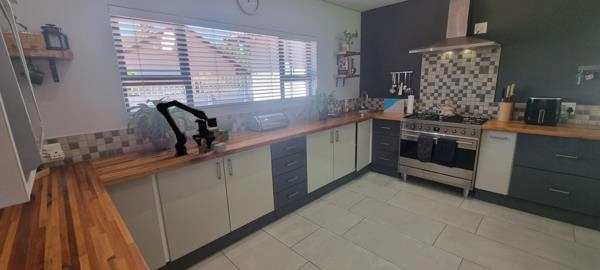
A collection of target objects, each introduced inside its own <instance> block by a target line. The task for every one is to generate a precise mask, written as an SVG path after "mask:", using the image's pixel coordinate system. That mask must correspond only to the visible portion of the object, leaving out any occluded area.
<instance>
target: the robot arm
mask: <svg viewBox="0 0 600 270" xmlns="http://www.w3.org/2000/svg"><path fill="white" fill-rule="evenodd" d="M172 107H176V108H178V109H181V110H182V111H186V112H187V113H189V114H191V115H193V116H194V117H196V120H195V121H194V123H197V128H198V129H196V131H197V132H198V133H196V134H192V136H191V137H192V139H191V140H193V141H194V142H195V143H196V144H197V146H198V147H199V146H203V145H202V141H203V139H206V144H207V147H208V149H210V148H211V144H212V142H213V141H214V140H216V137H215V136H214V132H213V131H209V128H214V127H215V128H218V120H217V117H211V118H209V117H208V115H206V112H205V111H204V110H201V109H198V108H194V107H191V106H189V105H188V104H186V103H184V102H181V101H178V99H173V100H171V101H168V102H158V103H157V104H156V107H155V108H156V110H157V111H158V112H159V113H160V115H162V116H163V117H164V119H165V120H166V123H167V124H168V125H169V127H170V128H171V130H172V132H174V135H175V140H176V142H175V143H176V144H175V149H174V150H175V154H174V156H178V157H182V156H186V155H188V154H189V153H188V151H187V147H186V144H187V142H188V135H187V134H186V132H185V131H181V129H180V128H179V126H178V124H177V123H176V121H175V119H174V118H173V116H172V115H171V113H170V108H172ZM208 127H209V128H208ZM211 135H212V136H211ZM206 144H205V145H206Z"/></svg>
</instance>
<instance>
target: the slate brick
mask: <svg viewBox="0 0 600 270" xmlns="http://www.w3.org/2000/svg"><path fill="white" fill-rule="evenodd" d="M219 143H222V141H221V142H219V141H215V142H212V144H211V148H212V151H214V145H216V144H219Z"/></svg>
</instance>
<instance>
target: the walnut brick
mask: <svg viewBox="0 0 600 270" xmlns="http://www.w3.org/2000/svg"><path fill="white" fill-rule="evenodd" d="M197 148H198V154H200V153H202V154H203V155H205V154H208V153H210V151H211V152H212V151H213V150H212V148H210V149H208V147H207V144H203V145H202V146H198V147H197ZM207 152H208V153H207ZM204 153H205V154H204ZM202 154H201V155H202Z"/></svg>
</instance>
